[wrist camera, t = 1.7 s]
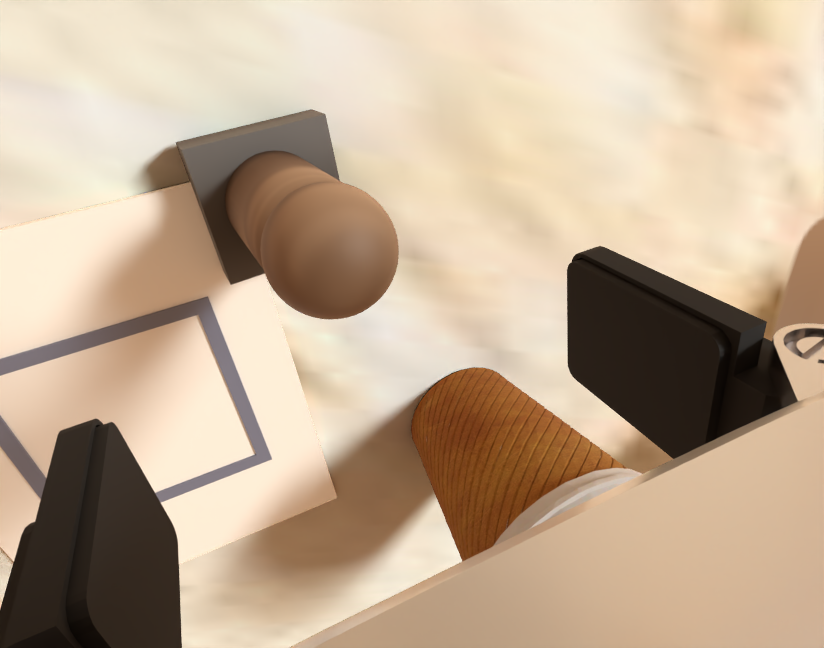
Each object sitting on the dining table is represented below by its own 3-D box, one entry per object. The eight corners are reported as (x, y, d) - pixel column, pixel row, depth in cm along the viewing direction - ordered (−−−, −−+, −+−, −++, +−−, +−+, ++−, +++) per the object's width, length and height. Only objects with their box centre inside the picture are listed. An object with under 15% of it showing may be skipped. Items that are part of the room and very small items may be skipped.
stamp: (175, 142, 19) (226, 210, 12) (311, 109, 20) (430, 150, 13) (223, 271, 21) (288, 390, 14) (339, 232, 23) (451, 322, 16)
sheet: (-224, 283, 17) (-232, 288, 16) (231, 171, 20) (233, 174, 20) (61, 608, 26) (60, 616, 26) (335, 494, 30) (338, 499, 29)
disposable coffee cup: (388, 500, 32) (490, 711, 22) (377, 365, 27) (502, 558, 17) (527, 452, 35) (672, 619, 25) (539, 323, 30) (724, 467, 20)
